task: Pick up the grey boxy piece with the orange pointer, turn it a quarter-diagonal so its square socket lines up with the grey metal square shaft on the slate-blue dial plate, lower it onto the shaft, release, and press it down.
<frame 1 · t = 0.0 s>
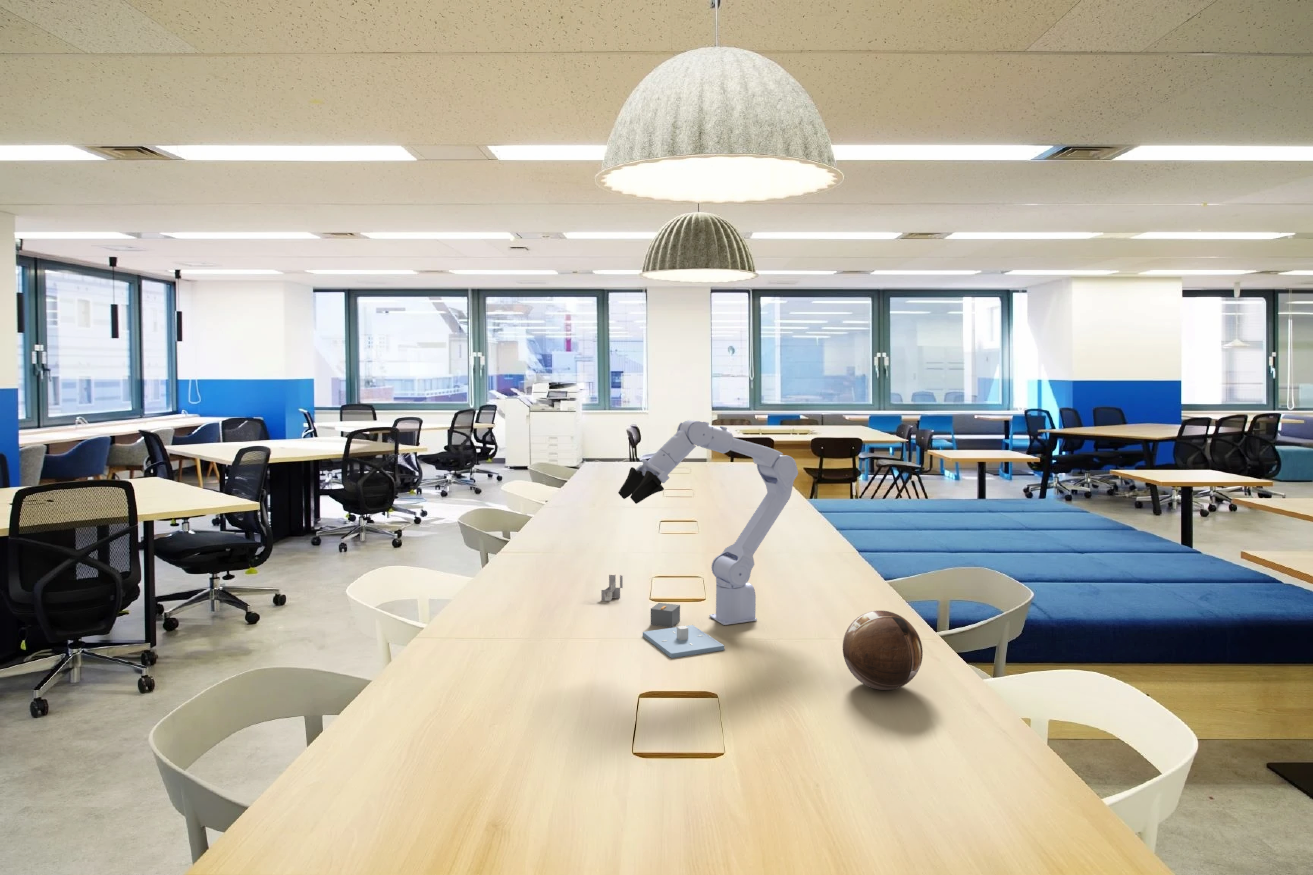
hand: (627, 498, 187), 32 cm above the table, tool tilted 50°, fingers open, 7 cm apart
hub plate: (682, 642, 183), on the table
grey boxy piece: (665, 622, 198), on the table
architectural model: (624, 605, 215), on the table
wooden sphere: (881, 688, 157), on the table
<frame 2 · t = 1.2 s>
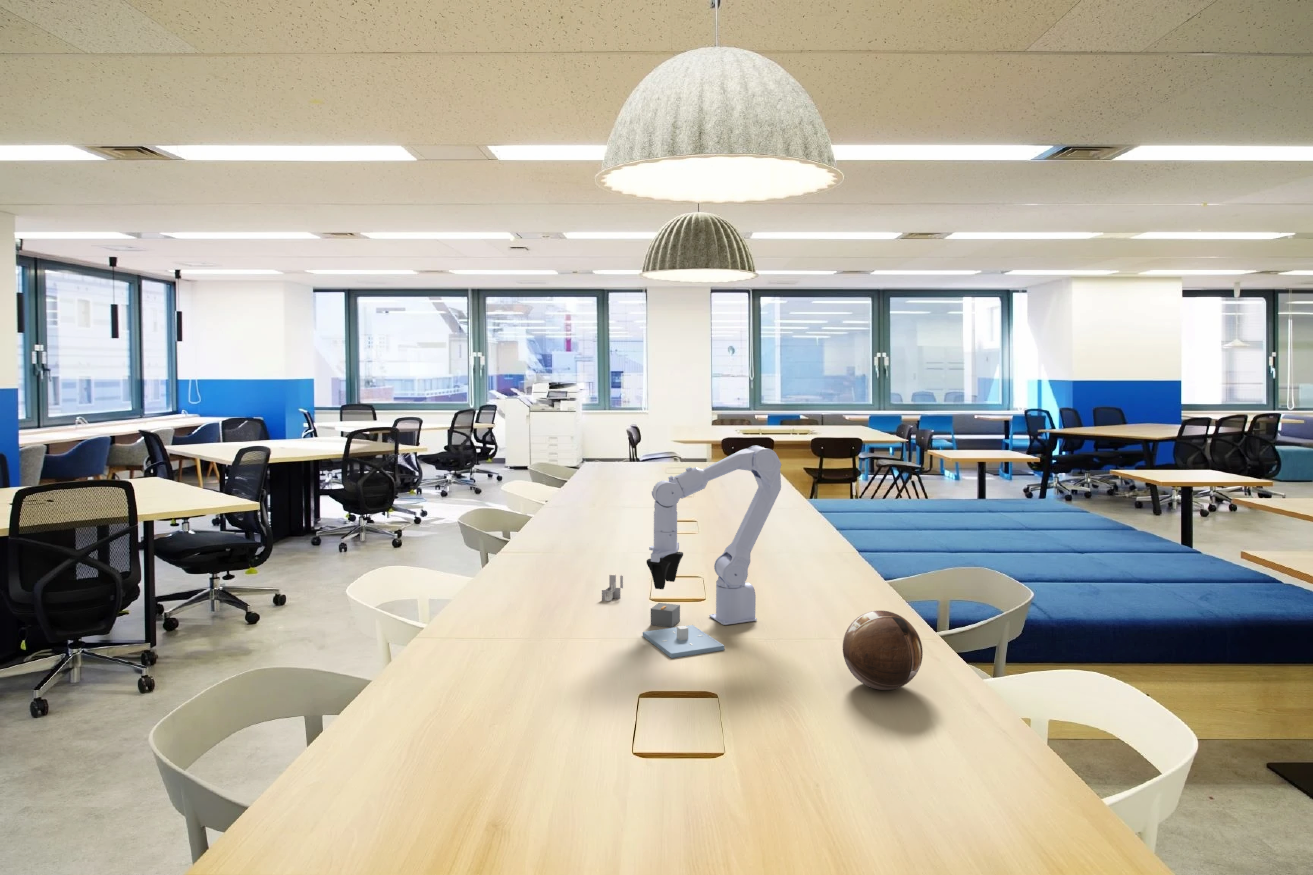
hand: (665, 585, 197), 9 cm above the table, tool pointing down, fingers open, 7 cm apart
nothing on the table moved.
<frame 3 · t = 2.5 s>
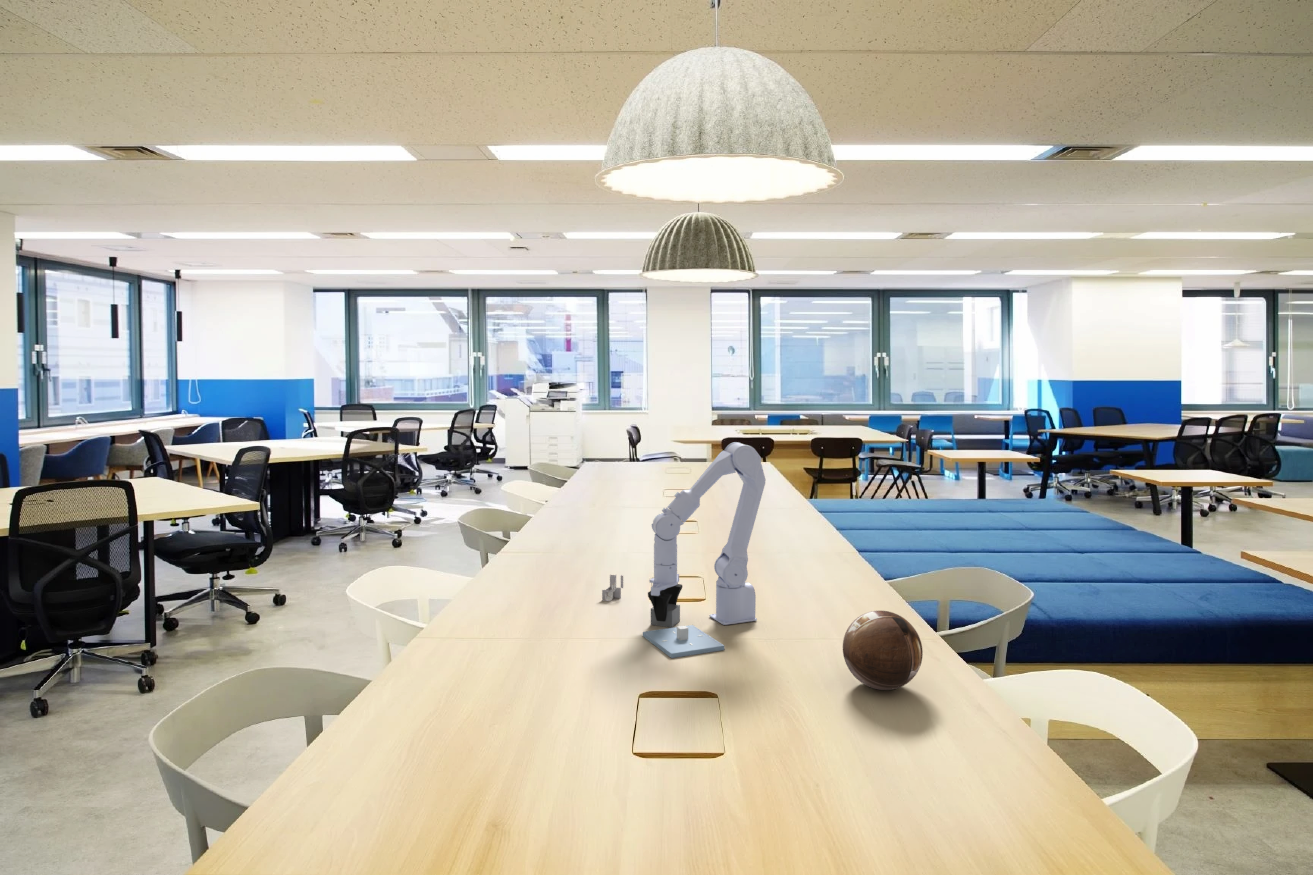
hand: (665, 617, 198), 1 cm above the table, tool pointing down, fingers closed on grey boxy piece, 6 cm apart
grey boxy piece: (665, 622, 198), on the table, touching gripper
everything else where it was.
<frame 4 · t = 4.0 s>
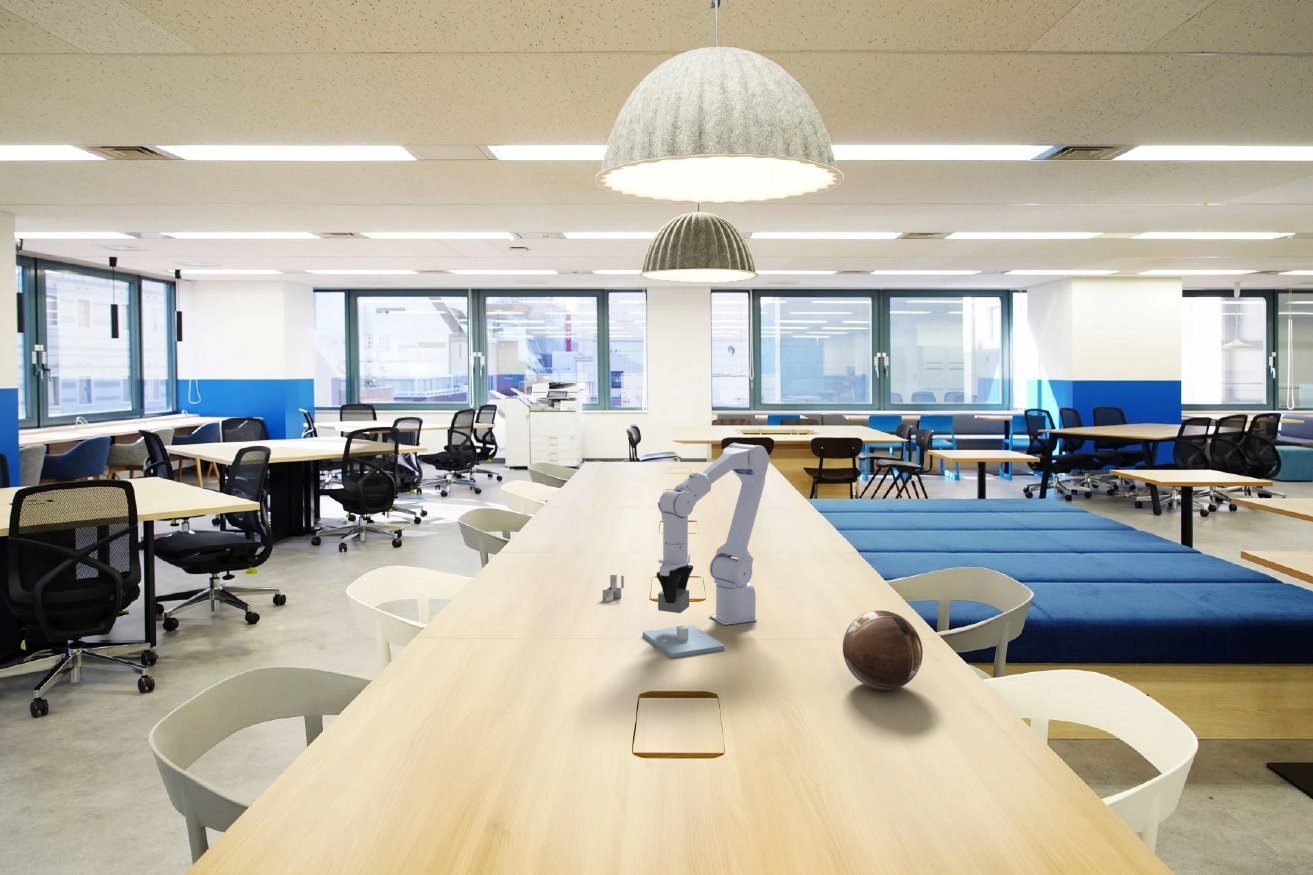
hand: (675, 599, 188), 8 cm above the table, tool pointing down, fingers closed on grey boxy piece, 6 cm apart
grey boxy piece: (673, 608, 188), point 6 cm above the table, touching gripper
everything else where it was.
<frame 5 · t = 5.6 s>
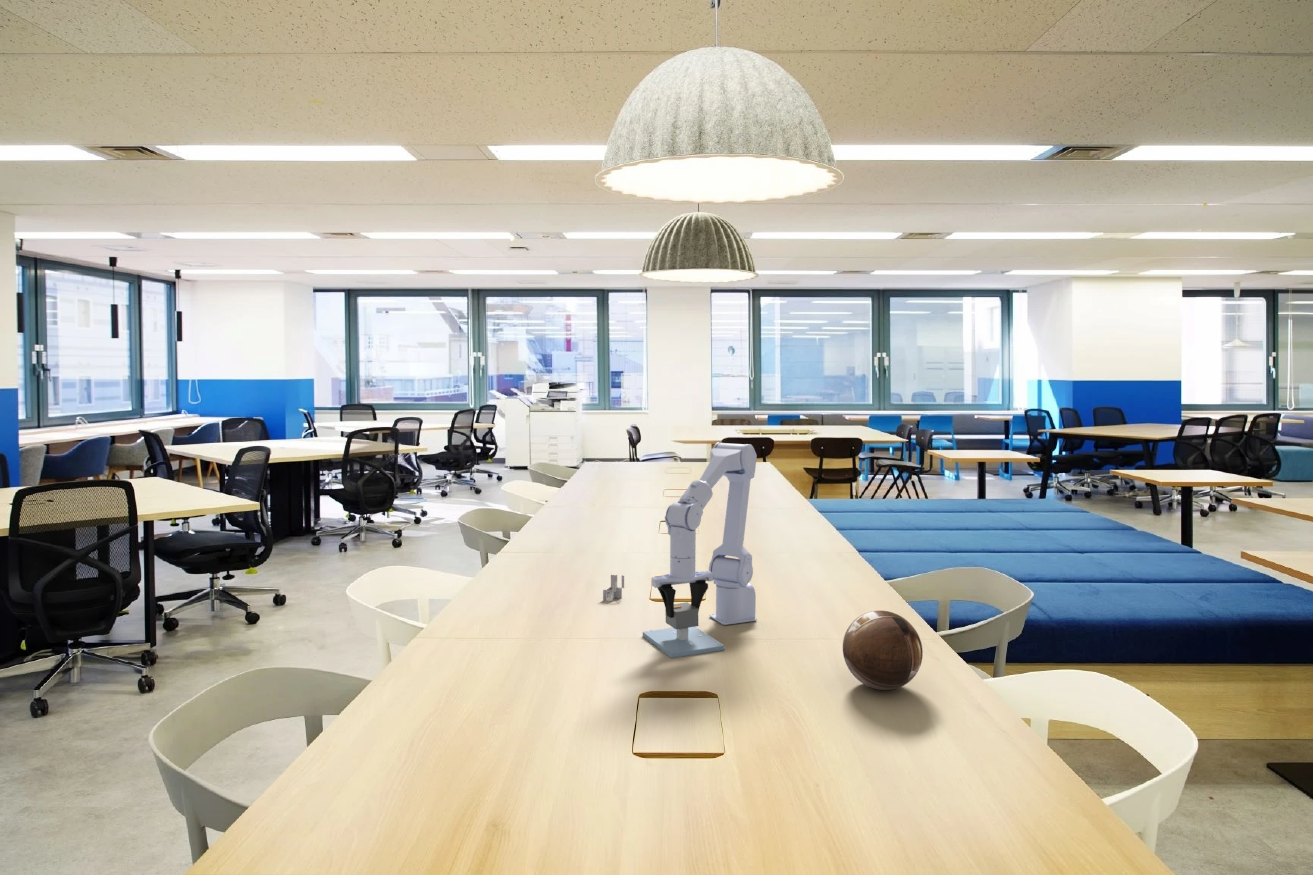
hand: (682, 614, 183), 6 cm above the table, tool pointing down, fingers closed on grey boxy piece, 6 cm apart
grey boxy piece: (681, 624, 183), point 4 cm above the table, touching gripper
everything else where it was.
when the fingers open (3 cm above the table, at t = 6.9 s): grey boxy piece stays where it is, resting on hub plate.
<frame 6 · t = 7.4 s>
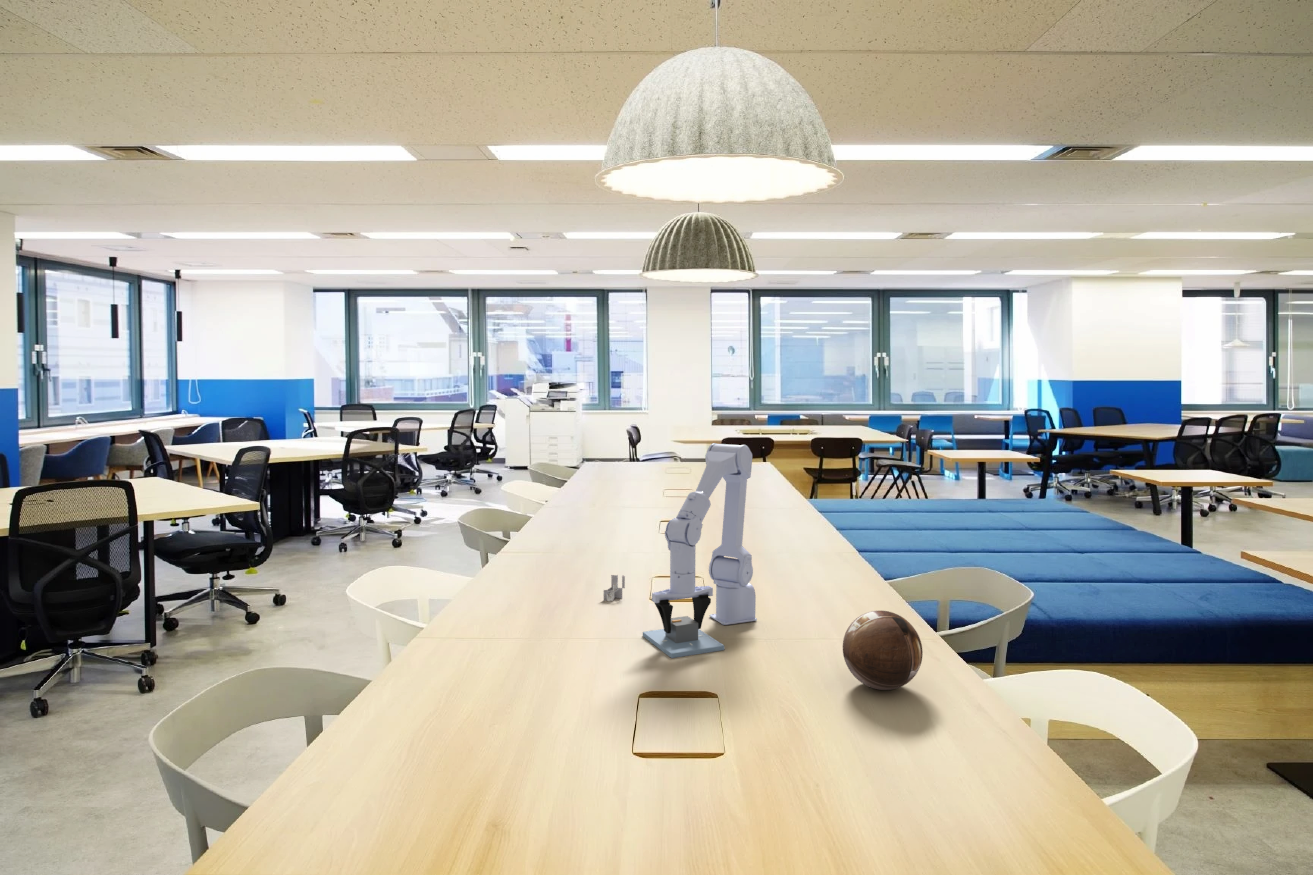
hand: (682, 629, 183), 3 cm above the table, tool pointing down, fingers open, 7 cm apart
grey boxy piece: (681, 638, 183), point 1 cm above the table, touching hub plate
everything else where it was.
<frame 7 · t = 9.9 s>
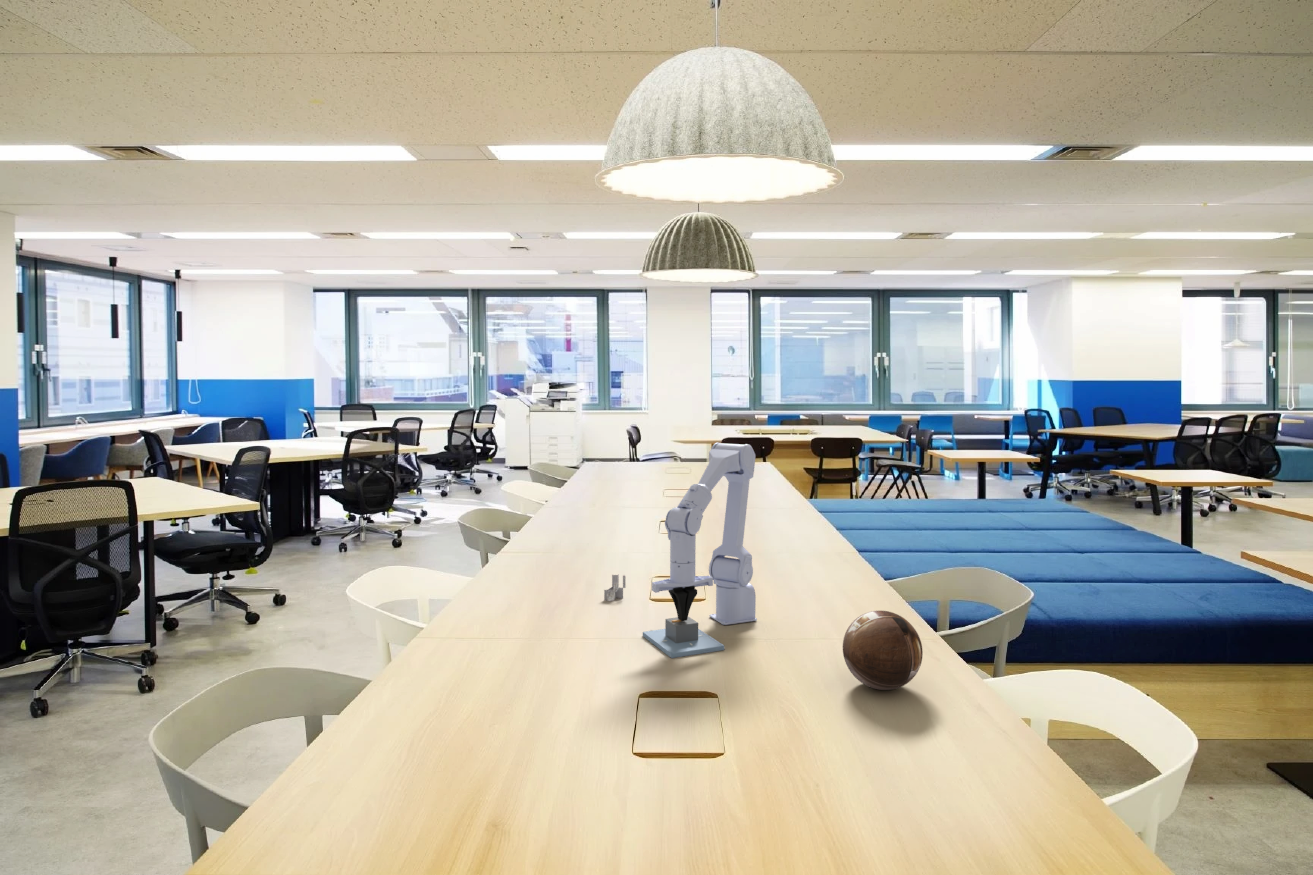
hand: (682, 619, 183), 5 cm above the table, tool pointing down, fingers closed
nothing on the table moved.
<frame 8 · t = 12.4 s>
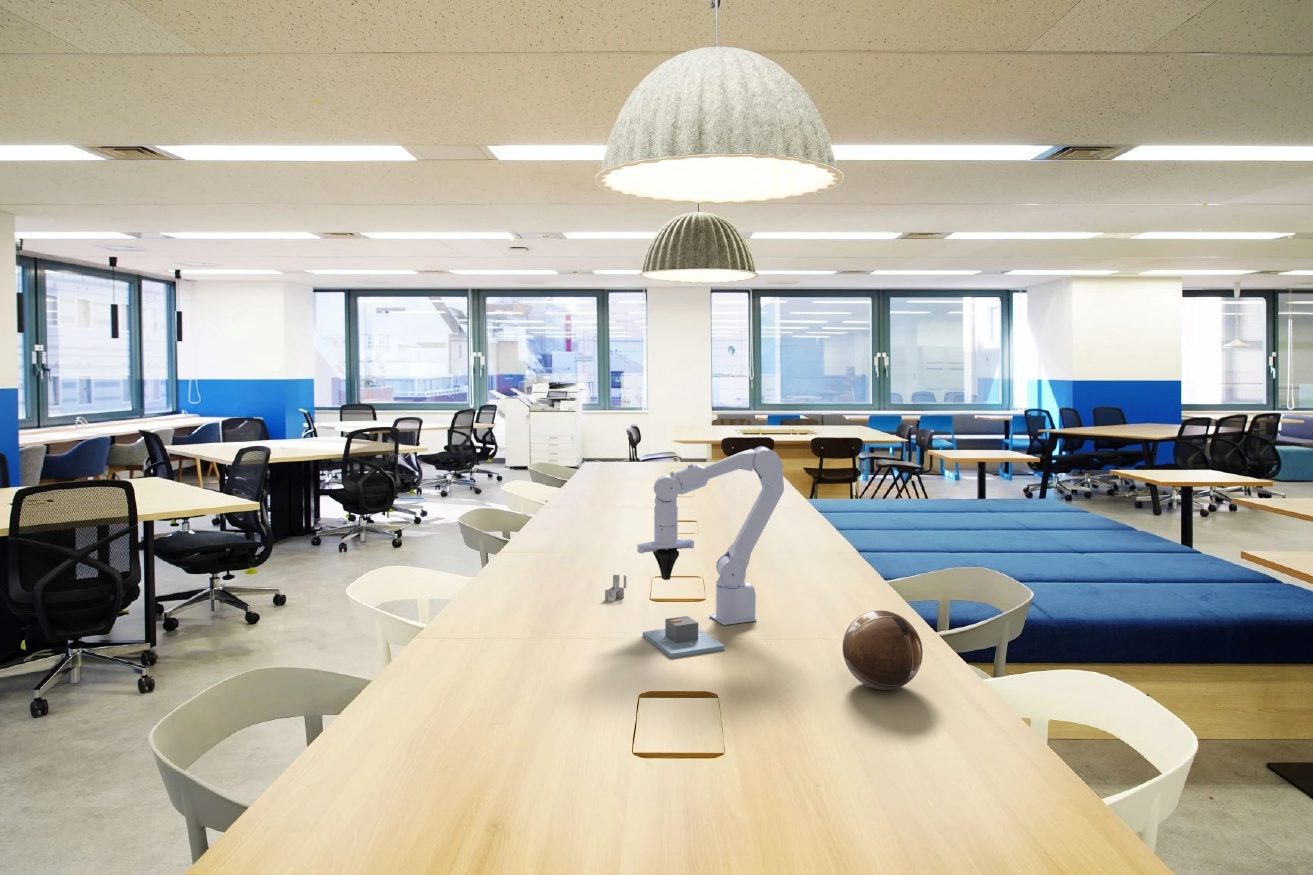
hand: (665, 579, 199), 10 cm above the table, tool pointing down, fingers closed
nothing on the table moved.
at the end: grey boxy piece 0.4 cm off-centre on the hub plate, point 1.0 cm above the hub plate's base; grey boxy piece tilted 0°; the gripper is holding nothing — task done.
